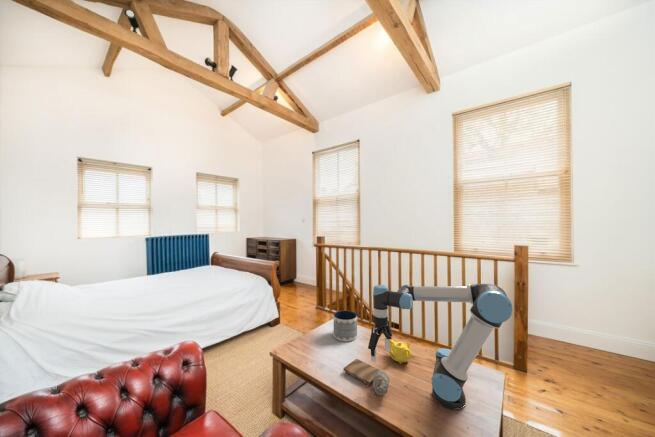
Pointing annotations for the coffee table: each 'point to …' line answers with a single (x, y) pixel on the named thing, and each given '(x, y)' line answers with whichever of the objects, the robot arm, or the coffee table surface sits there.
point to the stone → (380, 382)
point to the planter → (345, 326)
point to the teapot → (400, 351)
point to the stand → (361, 371)
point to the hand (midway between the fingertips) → (380, 356)
